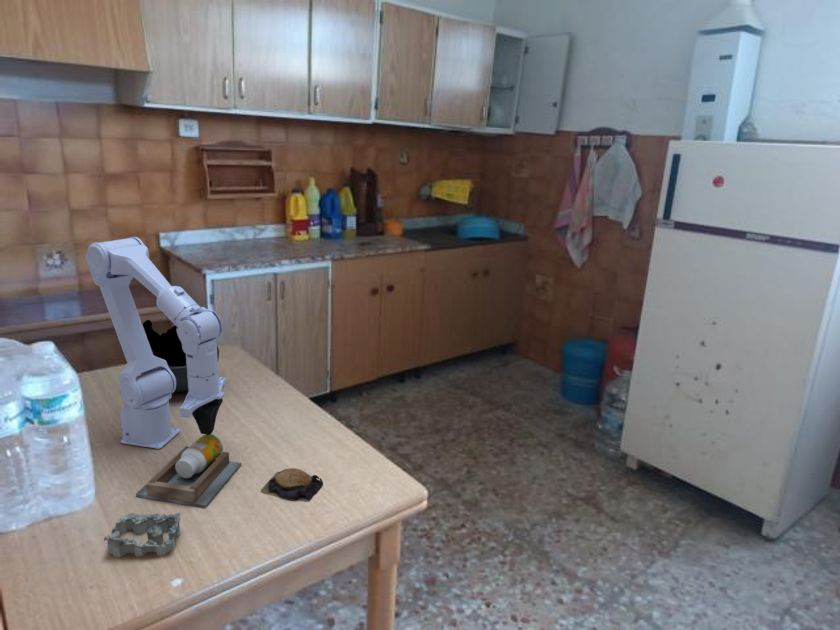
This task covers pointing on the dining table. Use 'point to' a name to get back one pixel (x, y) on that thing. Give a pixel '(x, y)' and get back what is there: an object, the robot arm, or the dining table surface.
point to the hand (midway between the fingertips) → (206, 432)
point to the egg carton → (140, 525)
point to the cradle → (190, 482)
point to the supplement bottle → (199, 455)
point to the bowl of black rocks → (170, 353)
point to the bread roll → (293, 485)
